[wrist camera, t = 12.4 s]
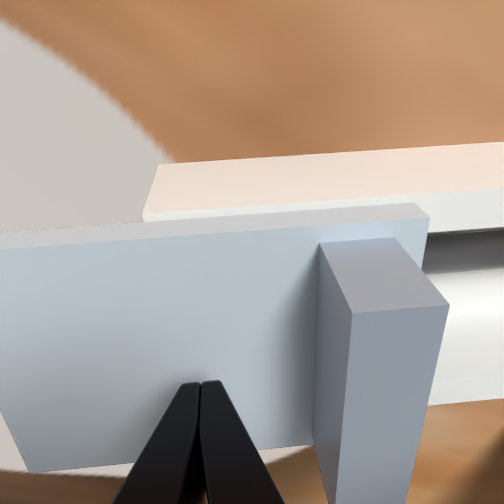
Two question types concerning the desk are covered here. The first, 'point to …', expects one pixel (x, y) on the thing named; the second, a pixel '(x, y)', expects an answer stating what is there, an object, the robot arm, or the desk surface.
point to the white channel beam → (380, 193)
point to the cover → (226, 337)
